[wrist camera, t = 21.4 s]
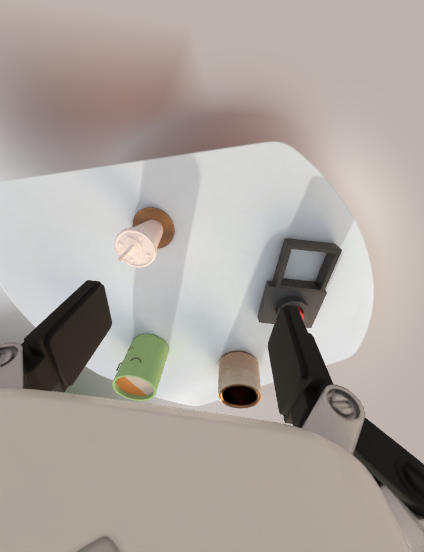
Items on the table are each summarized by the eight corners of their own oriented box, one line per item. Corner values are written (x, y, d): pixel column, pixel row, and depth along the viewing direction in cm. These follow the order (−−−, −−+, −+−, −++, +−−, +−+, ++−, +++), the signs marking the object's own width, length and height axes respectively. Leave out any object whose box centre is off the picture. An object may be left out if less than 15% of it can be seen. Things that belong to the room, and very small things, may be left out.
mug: (153, 328, 55) (135, 369, 45) (175, 352, 60) (164, 395, 49) (117, 342, 59) (94, 383, 49) (141, 364, 63) (124, 406, 53)
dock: (284, 238, 40) (288, 244, 38) (335, 243, 40) (342, 250, 38) (272, 280, 45) (275, 288, 43) (317, 285, 45) (323, 293, 43)
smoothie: (161, 207, 38) (130, 234, 26) (175, 239, 41) (154, 276, 29) (131, 218, 40) (89, 248, 28) (147, 248, 43) (115, 287, 31)
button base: (267, 280, 45) (270, 291, 42) (323, 286, 45) (330, 298, 42) (257, 315, 51) (259, 327, 47) (308, 321, 50) (313, 333, 47)
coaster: (131, 205, 39) (130, 205, 39) (174, 209, 39) (173, 210, 39) (135, 245, 43) (134, 246, 43) (174, 249, 43) (174, 250, 43)
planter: (254, 376, 63) (258, 410, 54) (217, 372, 63) (215, 406, 55) (260, 352, 57) (266, 386, 49) (220, 348, 57) (219, 381, 49)
